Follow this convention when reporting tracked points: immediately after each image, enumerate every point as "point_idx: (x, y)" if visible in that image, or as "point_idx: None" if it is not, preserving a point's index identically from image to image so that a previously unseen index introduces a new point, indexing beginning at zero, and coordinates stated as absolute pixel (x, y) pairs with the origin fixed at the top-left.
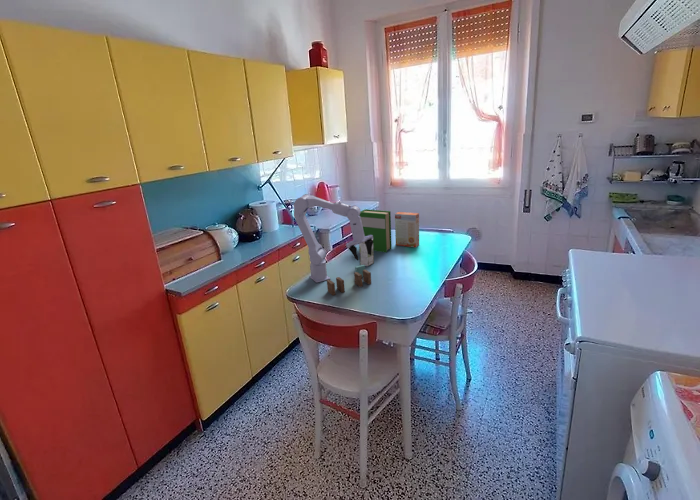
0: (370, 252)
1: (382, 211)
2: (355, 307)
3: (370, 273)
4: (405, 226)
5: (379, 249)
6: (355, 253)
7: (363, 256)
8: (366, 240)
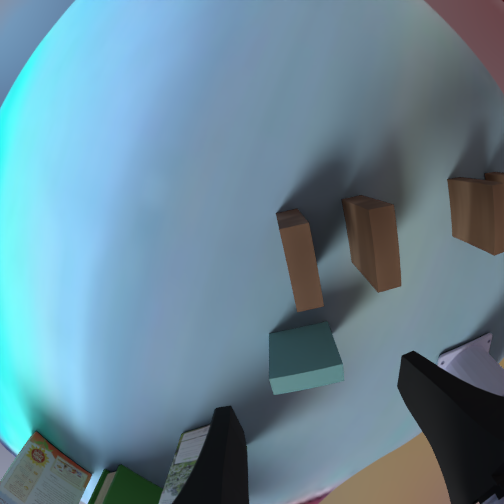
0: (222, 427)
1: None
2: (425, 9)
3: (282, 227)
4: (37, 498)
5: (141, 484)
6: (477, 392)
7: None
8: None
